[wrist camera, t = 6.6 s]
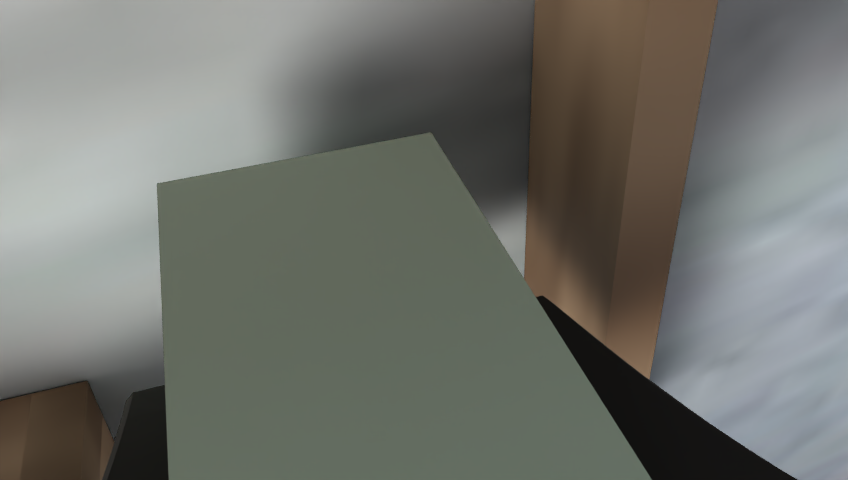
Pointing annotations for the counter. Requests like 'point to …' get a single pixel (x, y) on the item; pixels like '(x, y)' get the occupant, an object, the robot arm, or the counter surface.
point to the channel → (546, 202)
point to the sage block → (363, 331)
